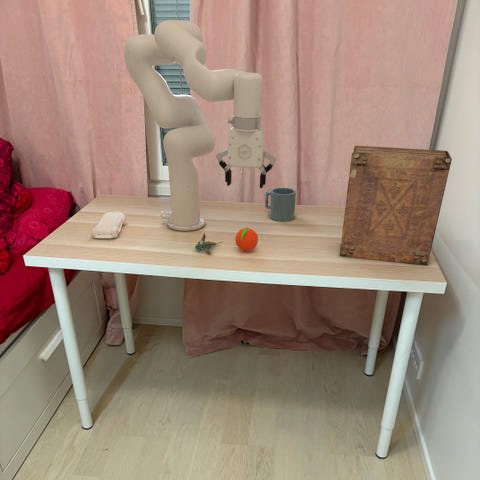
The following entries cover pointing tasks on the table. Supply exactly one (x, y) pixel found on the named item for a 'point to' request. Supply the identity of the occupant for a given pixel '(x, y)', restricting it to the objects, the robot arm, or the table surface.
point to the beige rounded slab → (109, 225)
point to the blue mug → (281, 203)
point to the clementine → (246, 239)
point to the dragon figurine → (205, 245)
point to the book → (393, 203)
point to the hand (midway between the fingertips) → (245, 185)
